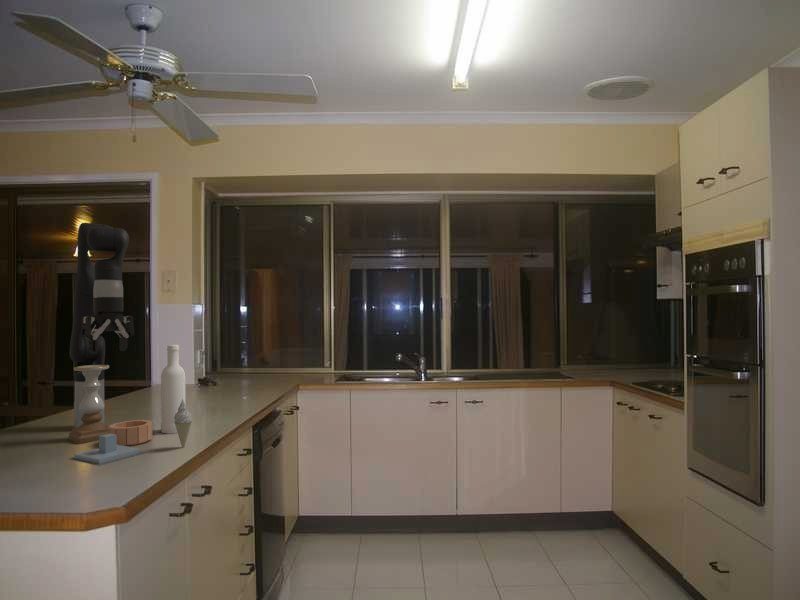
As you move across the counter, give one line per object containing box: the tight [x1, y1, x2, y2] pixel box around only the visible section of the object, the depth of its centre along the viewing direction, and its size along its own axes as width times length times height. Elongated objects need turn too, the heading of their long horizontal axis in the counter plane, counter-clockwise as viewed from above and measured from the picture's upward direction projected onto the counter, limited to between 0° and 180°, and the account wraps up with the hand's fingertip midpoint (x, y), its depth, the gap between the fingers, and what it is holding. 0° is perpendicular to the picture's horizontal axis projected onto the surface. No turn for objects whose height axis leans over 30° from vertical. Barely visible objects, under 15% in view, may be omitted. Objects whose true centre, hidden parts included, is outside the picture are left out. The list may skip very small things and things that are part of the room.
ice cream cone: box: [174, 399, 193, 448], centre depth 157 cm, size 5×5×15 cm
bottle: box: [160, 344, 187, 435], centre depth 181 cm, size 8×8×30 cm
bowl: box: [108, 419, 153, 447], centre depth 165 cm, size 12×12×6 cm
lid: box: [73, 434, 141, 464], centre depth 149 cm, size 12×12×6 cm
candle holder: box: [68, 364, 110, 445], centre depth 172 cm, size 11×11×24 cm
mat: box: [67, 451, 146, 467], centre depth 149 cm, size 15×14×1 cm
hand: (108, 352), depth 150 cm, fingers open, 8 cm apart
